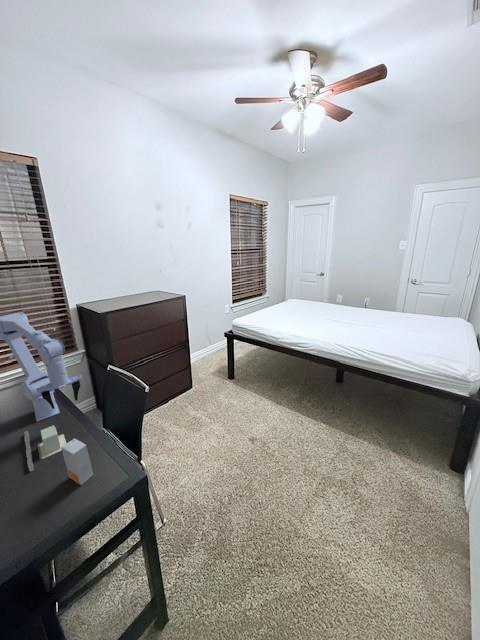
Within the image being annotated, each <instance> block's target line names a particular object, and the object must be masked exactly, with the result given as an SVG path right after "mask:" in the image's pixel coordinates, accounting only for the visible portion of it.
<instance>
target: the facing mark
mask: <svg viewBox="0 0 480 640" xmlns="http://www.w3.org/2000/svg"><path fill="white" fill-rule="evenodd" d="M64 434H65V433H63V434H59V435H58V439H59V442H60V448H59V449H57V450H55V451H52V452H50V453H48V454H47V453H46V451H45V448H44V444H43V442H40V443H38V444H36V445H37V450H38V454H39V461H41V460H44V459H47V458H48V457H50V456H53V455H55V454H57V453H59V452H62V448H61V447H62V446H64V445H65V444H67V443H68V442H67V441H66V438H65V435H64Z"/></svg>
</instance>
